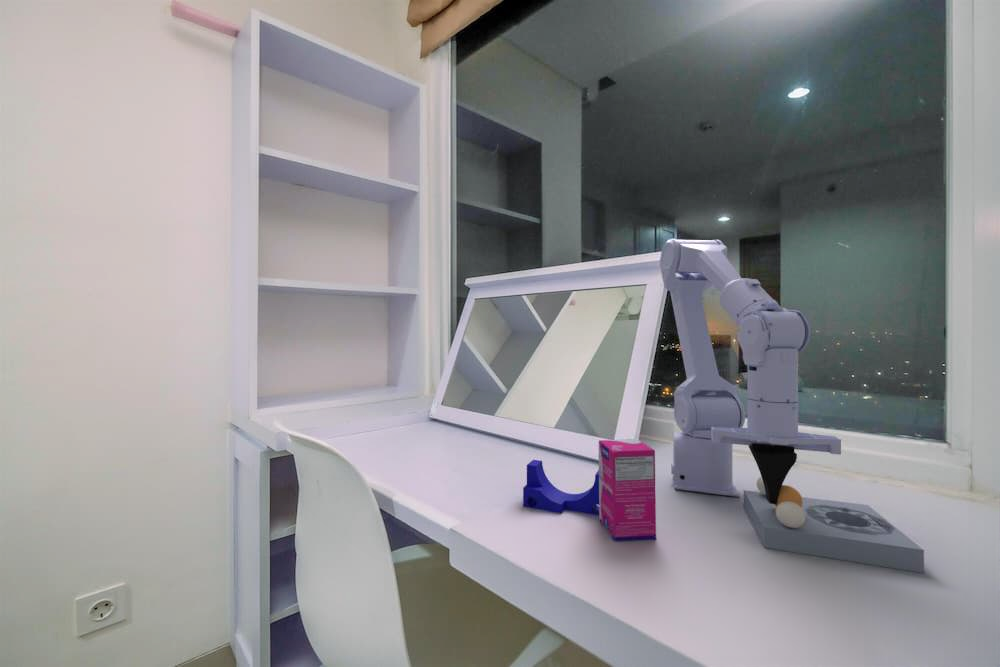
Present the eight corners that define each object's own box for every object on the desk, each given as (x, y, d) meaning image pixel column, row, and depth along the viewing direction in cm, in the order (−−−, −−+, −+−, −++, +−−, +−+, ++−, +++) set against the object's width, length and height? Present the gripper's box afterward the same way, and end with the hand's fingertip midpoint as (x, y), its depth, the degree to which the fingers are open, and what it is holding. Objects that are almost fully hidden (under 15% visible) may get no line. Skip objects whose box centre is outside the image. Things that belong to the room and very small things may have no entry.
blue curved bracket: (523, 507, 63) (523, 467, 63) (533, 497, 67) (533, 459, 67) (604, 522, 58) (604, 479, 58) (609, 510, 62) (609, 469, 62)
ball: (771, 510, 54) (779, 486, 54) (765, 500, 58) (772, 477, 57) (801, 521, 53) (809, 496, 53) (793, 510, 56) (801, 486, 56)
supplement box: (597, 521, 57) (597, 438, 58) (638, 520, 58) (638, 438, 58) (612, 542, 52) (612, 450, 52) (658, 540, 52) (658, 449, 52)
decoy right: (779, 530, 50) (779, 504, 50) (772, 519, 53) (772, 496, 53) (809, 534, 49) (809, 508, 49) (801, 523, 51) (801, 499, 52)
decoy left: (759, 498, 60) (759, 477, 60) (754, 490, 62) (754, 470, 62) (783, 501, 59) (783, 479, 59) (777, 493, 61) (777, 473, 61)
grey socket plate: (764, 547, 51) (764, 526, 51) (743, 506, 63) (743, 490, 63) (924, 572, 45) (923, 549, 45) (867, 523, 57) (867, 504, 57)
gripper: (715, 400, 55) (715, 504, 55) (851, 408, 50) (851, 522, 49) (709, 394, 61) (709, 486, 61) (829, 400, 56) (829, 501, 56)
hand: (772, 501), depth 56 cm, fingers closed, pressing on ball
